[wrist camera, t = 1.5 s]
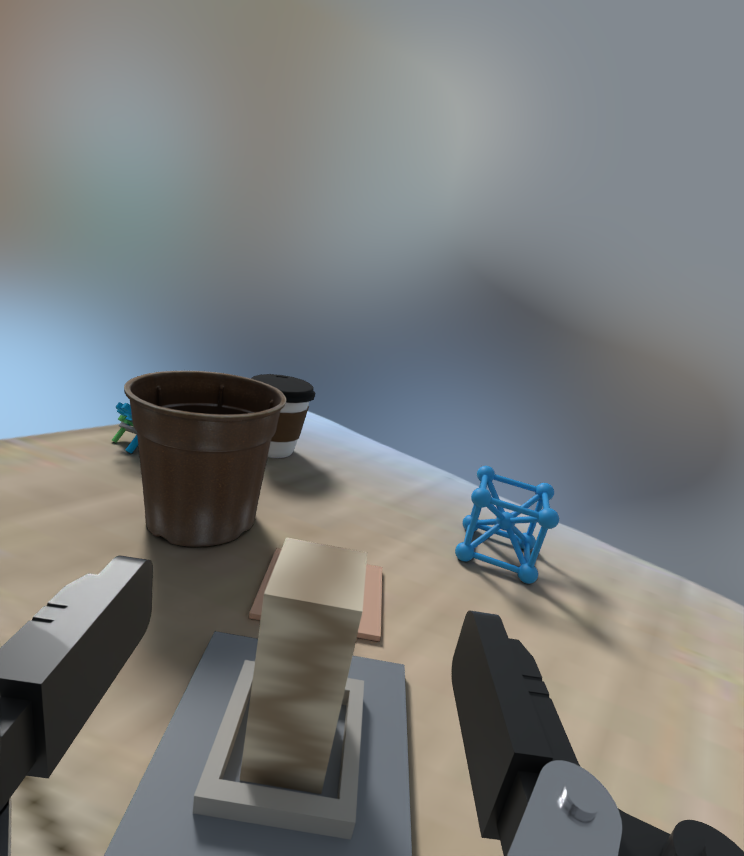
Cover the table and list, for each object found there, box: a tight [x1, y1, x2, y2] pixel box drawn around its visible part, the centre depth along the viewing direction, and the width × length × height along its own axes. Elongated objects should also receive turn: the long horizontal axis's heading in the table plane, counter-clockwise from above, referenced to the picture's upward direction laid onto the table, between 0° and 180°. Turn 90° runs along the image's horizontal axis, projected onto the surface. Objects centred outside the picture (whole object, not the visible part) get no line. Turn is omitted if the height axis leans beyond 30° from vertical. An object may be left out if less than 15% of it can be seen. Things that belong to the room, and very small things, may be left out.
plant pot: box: [124, 371, 286, 547], centre depth 50 cm, size 16×16×16 cm
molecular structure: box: [455, 466, 559, 584], centre depth 55 cm, size 10×10×10 cm
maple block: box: [240, 538, 367, 794], centre depth 26 cm, size 5×5×14 cm
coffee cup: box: [251, 374, 315, 458], centre depth 72 cm, size 11×11×12 cm
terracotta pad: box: [249, 548, 382, 641], centre depth 44 cm, size 12×10×1 cm
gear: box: [112, 402, 138, 454], centre depth 65 cm, size 11×6×10 cm
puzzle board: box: [104, 631, 412, 856], centre depth 29 cm, size 16×16×2 cm
